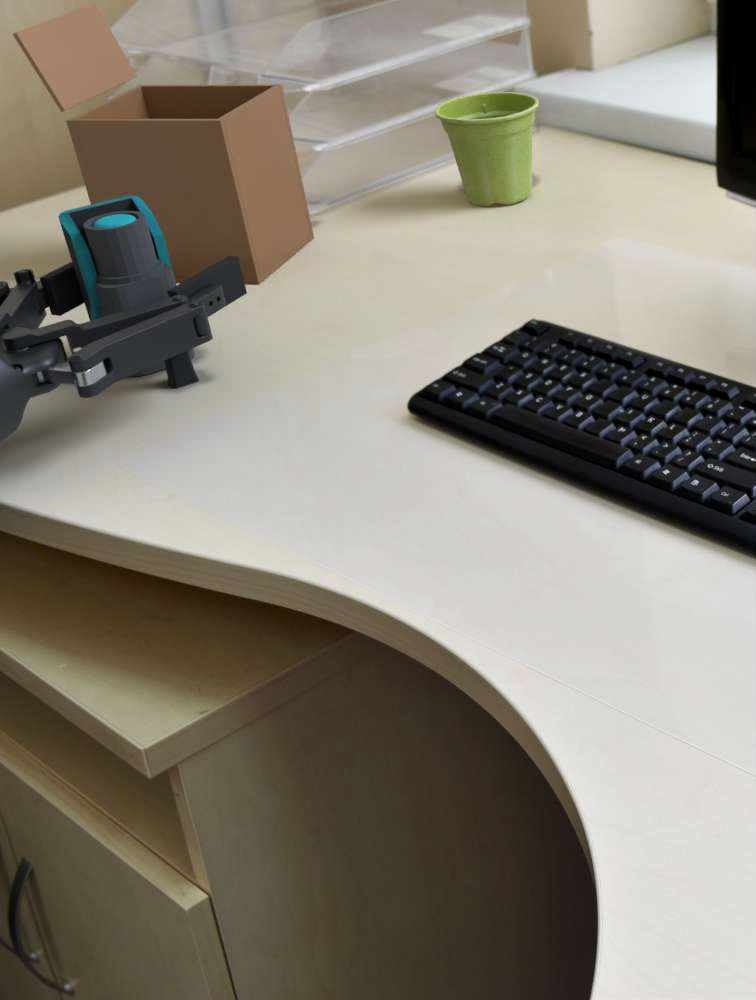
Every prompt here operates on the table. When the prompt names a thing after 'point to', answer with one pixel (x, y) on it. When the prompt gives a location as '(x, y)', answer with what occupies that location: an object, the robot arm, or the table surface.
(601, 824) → the table surface
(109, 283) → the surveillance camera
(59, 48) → the flap
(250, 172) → the carton
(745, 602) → the table surface
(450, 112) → the plant pot
